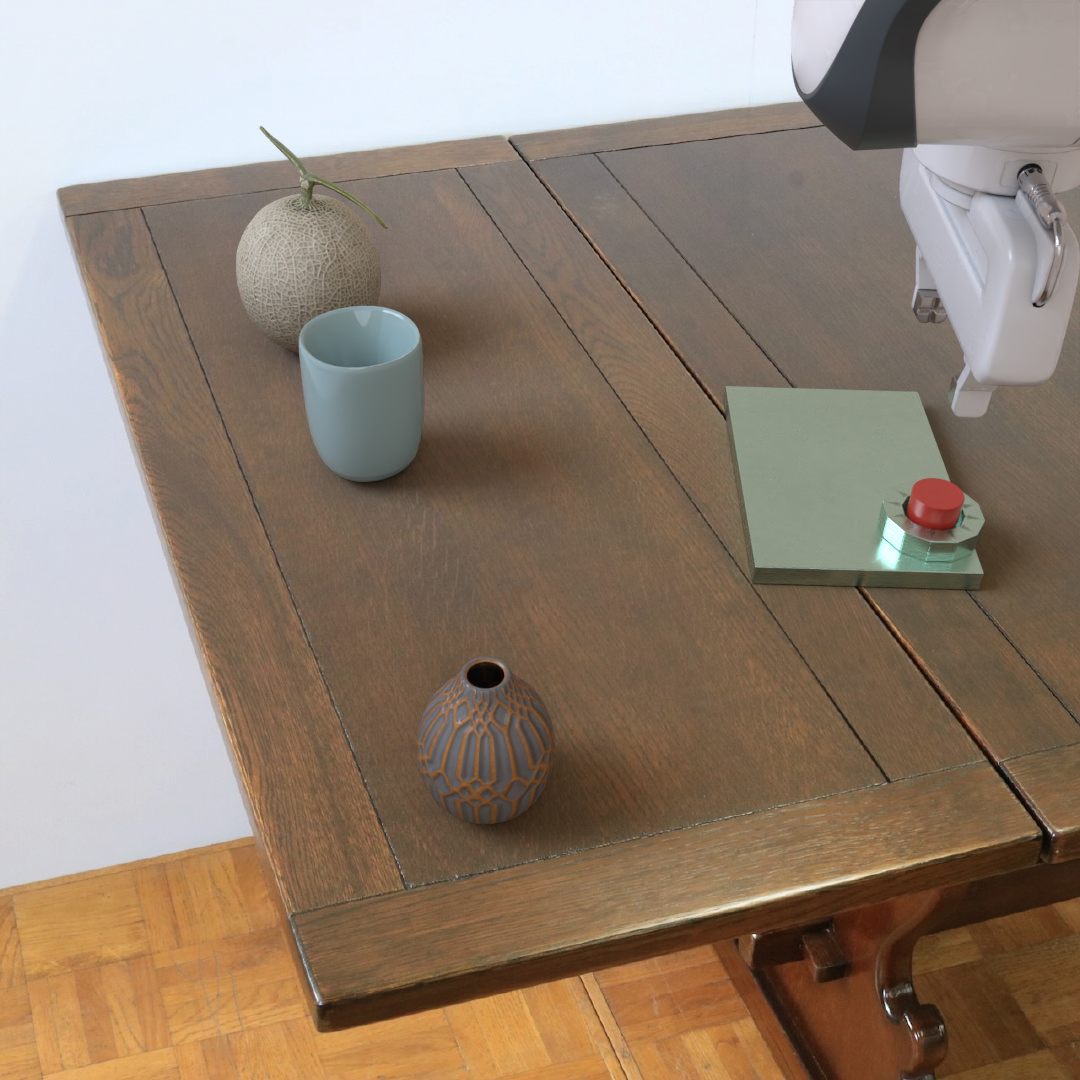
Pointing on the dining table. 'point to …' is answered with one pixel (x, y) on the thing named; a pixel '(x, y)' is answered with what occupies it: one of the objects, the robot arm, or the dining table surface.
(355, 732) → the dining table surface
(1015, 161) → the robot arm
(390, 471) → the cup
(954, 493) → the button
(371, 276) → the fruit
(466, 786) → the vase
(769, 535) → the green metallic slab
